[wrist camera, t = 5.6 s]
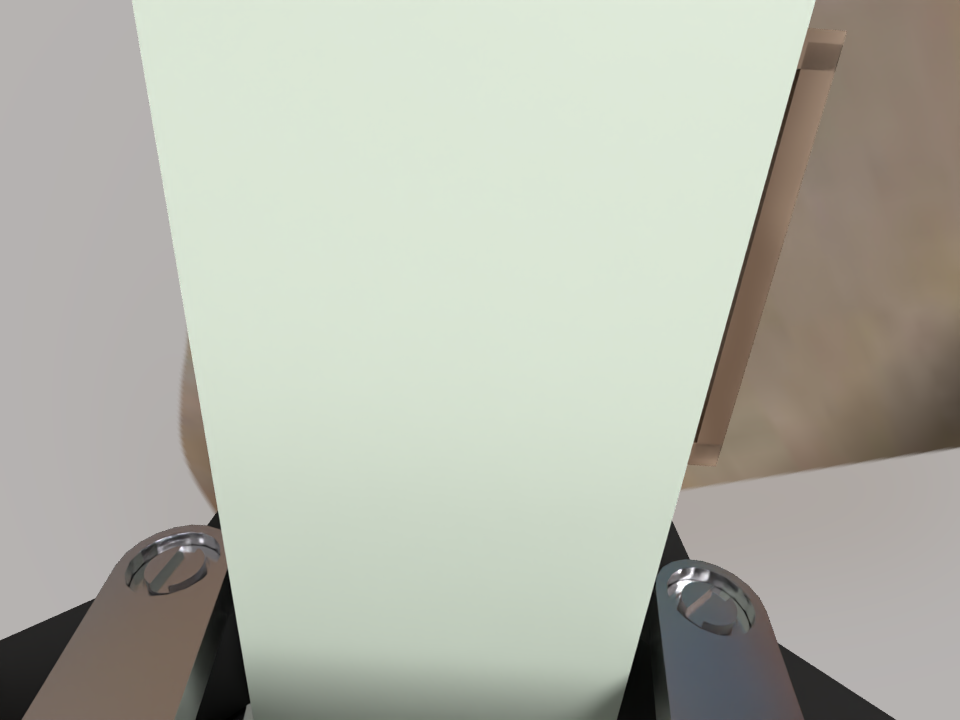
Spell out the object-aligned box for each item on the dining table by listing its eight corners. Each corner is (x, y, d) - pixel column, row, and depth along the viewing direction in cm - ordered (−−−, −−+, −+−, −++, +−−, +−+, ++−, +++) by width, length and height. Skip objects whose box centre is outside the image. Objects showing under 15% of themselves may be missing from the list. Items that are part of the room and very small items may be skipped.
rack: (784, 48, 26) (880, 21, 20) (685, 423, 35) (730, 487, 29) (384, 16, 26) (352, -21, 20) (386, 403, 35) (363, 464, 28)
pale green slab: (542, 80, 21) (893, -280, 3) (506, 424, 27) (533, 1022, 9) (442, 73, 21) (73, -345, 3) (430, 419, 27) (302, 1007, 9)
